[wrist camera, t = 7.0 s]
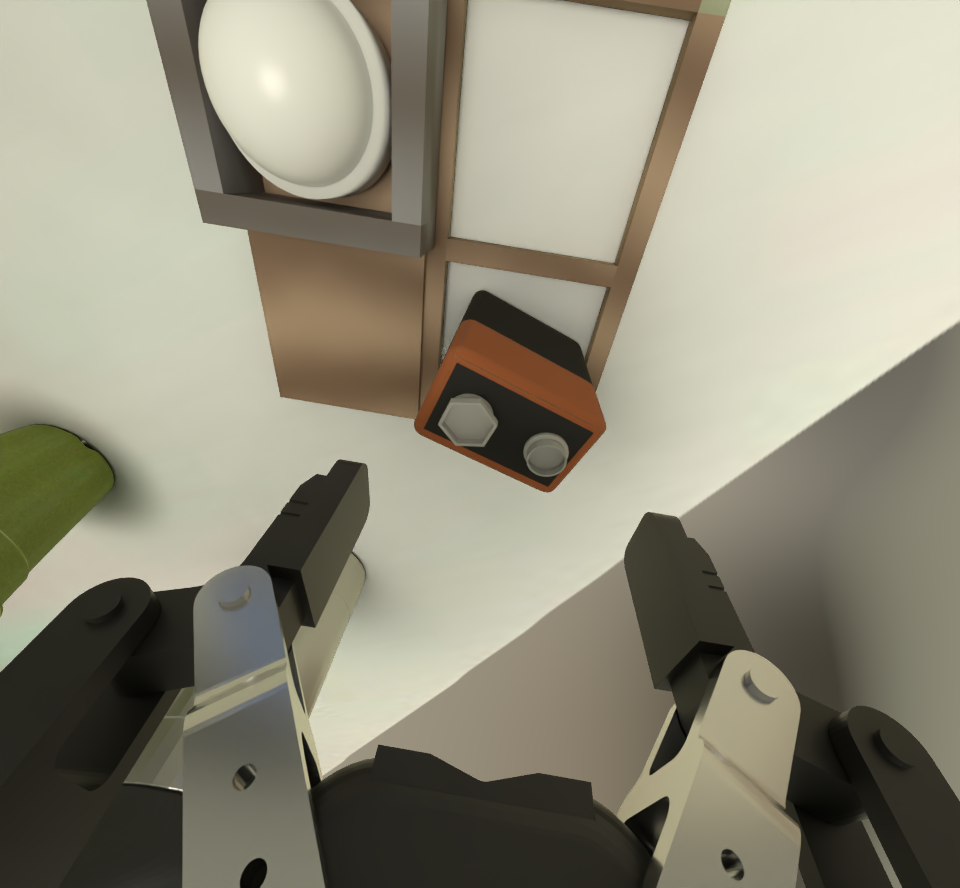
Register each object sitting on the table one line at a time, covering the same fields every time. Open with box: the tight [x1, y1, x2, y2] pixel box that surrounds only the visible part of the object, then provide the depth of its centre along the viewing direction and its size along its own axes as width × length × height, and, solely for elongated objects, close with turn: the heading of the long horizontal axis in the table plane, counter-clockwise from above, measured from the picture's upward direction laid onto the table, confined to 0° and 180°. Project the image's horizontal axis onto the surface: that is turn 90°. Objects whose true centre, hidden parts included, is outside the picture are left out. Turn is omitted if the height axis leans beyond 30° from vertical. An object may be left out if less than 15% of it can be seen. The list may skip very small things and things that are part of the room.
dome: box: [198, 0, 392, 199], centre depth 13 cm, size 6×6×6 cm
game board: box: [146, 0, 731, 419], centre depth 15 cm, size 30×20×4 cm, turn 172°
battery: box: [414, 291, 606, 492], centre depth 18 cm, size 4×7×10 cm, turn 63°
